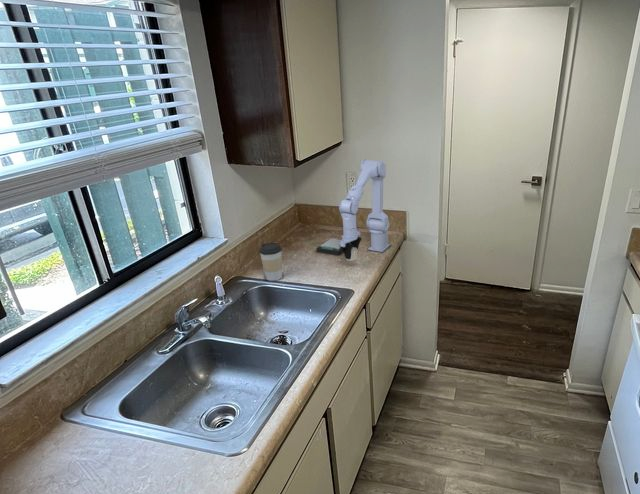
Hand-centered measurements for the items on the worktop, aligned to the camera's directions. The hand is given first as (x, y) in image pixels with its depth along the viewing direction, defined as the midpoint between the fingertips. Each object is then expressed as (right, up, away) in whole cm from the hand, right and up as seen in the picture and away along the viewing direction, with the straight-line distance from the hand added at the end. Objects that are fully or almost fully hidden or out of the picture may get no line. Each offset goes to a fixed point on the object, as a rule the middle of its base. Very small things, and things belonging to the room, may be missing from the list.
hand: (351, 255), depth 192 cm
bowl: (0, -1, +1) cm, 1 cm away
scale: (-12, +3, +23) cm, 25 cm away
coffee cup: (-33, -9, -5) cm, 34 cm away
